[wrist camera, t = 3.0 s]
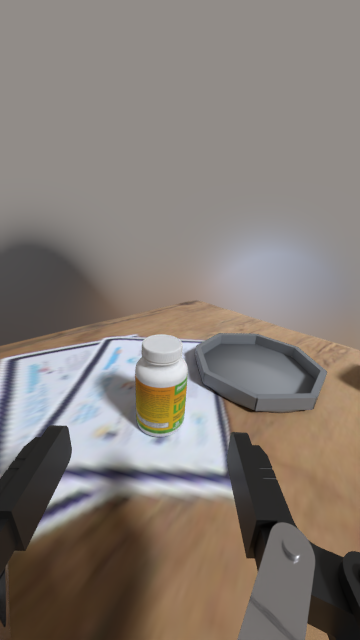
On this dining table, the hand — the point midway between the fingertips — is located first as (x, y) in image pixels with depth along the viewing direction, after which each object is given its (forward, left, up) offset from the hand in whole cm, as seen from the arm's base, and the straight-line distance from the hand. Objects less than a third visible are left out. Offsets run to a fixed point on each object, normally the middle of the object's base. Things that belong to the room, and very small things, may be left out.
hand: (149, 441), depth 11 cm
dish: (-4, +26, -10) cm, 28 cm away
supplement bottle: (-7, +9, -10) cm, 15 cm away
